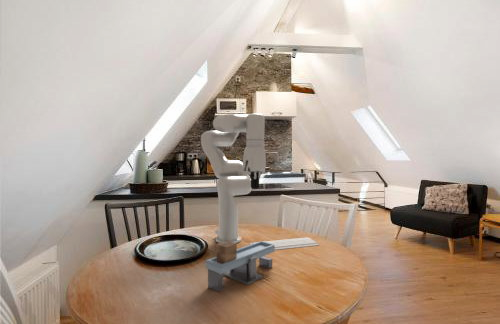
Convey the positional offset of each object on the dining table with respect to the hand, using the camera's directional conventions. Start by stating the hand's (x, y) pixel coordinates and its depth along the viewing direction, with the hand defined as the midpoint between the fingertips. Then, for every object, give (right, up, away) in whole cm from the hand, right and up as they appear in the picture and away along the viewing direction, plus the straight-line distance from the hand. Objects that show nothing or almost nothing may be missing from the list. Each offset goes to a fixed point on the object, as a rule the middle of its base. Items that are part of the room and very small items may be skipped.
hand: (254, 188), depth 130 cm
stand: (-5, -30, -19) cm, 36 cm away
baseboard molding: (+14, -29, +16) cm, 36 cm away
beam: (-5, -23, -19) cm, 30 cm away
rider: (-10, -23, -25) cm, 35 cm away
